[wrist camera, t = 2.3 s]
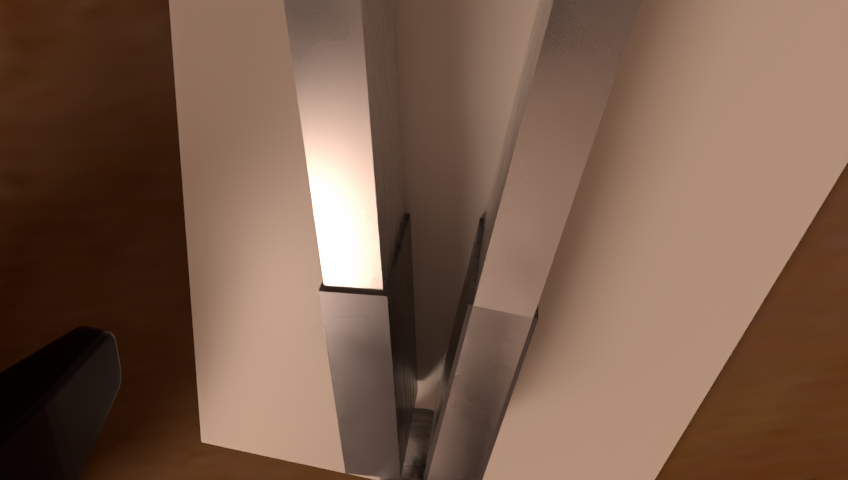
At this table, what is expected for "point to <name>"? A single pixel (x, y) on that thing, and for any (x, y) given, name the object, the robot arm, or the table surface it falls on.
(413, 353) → the tongs moving arm
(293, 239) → the cutting board
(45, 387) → the robot arm
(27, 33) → the table surface
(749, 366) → the table surface
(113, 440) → the table surface
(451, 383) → the tongs fixed arm
